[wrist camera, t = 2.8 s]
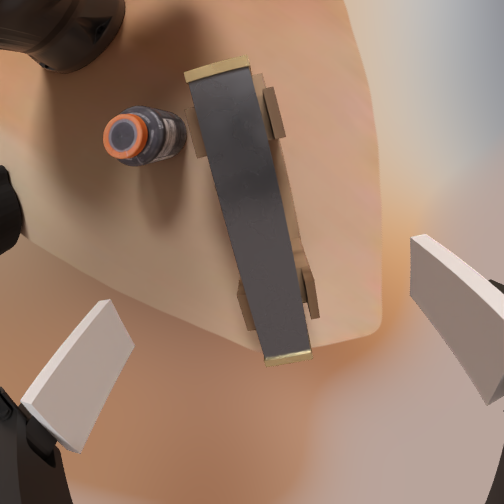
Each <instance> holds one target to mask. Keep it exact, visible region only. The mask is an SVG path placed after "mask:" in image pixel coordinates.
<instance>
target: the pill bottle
mask: <svg viewBox="0 0 504 504" xmlns="http://www.w3.org/2000/svg"><path fill="white" fill-rule="evenodd" d="M186 135H187V133H186V127H185V124H184V122H183V121H182V119H181V118H180V117H178V116H177V115H176V114H174V113H171V112H168V111H163V110H159V109H155V108H150V107H145V106H133V107H130V108H128V109H126V110H124V111H122V112H121V113H120V114H119V115H118V116H115V117H114V118H112V119H111V120H110V121H109V123H108V124H107V126H106V127H105V130H104V134H103V143H104V147H105V149H106V151H107V152H108V153H109V154H110V155H111V156H112V157H114V158H116V159H118V160H119V161H120V162H121V163H123V164H125V165H128V166H141V165H146V164H149V163H153V162H157V161H160V160H164V159H168V158H171V157H173V156H175V155H176V154H177V153H179V152H180V150H181V149H182V148H183V146H184V144H185V141H186Z"/></svg>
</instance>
